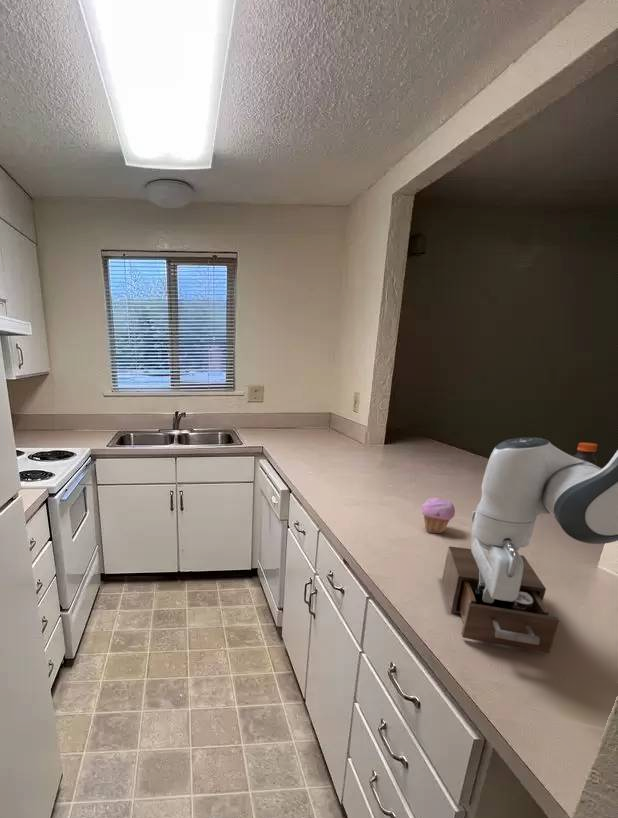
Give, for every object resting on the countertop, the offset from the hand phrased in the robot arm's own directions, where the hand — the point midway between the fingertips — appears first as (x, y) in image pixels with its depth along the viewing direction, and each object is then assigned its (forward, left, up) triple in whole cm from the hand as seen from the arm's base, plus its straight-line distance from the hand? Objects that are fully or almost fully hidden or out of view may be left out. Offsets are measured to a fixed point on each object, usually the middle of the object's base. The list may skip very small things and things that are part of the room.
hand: (485, 596), depth 82 cm
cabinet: (-3, -11, -7) cm, 13 cm away
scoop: (-2, 0, -2) cm, 3 cm away
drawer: (-3, +2, -6) cm, 7 cm away
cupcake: (+3, -49, -7) cm, 49 cm away
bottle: (-45, -94, -7) cm, 104 cm away
